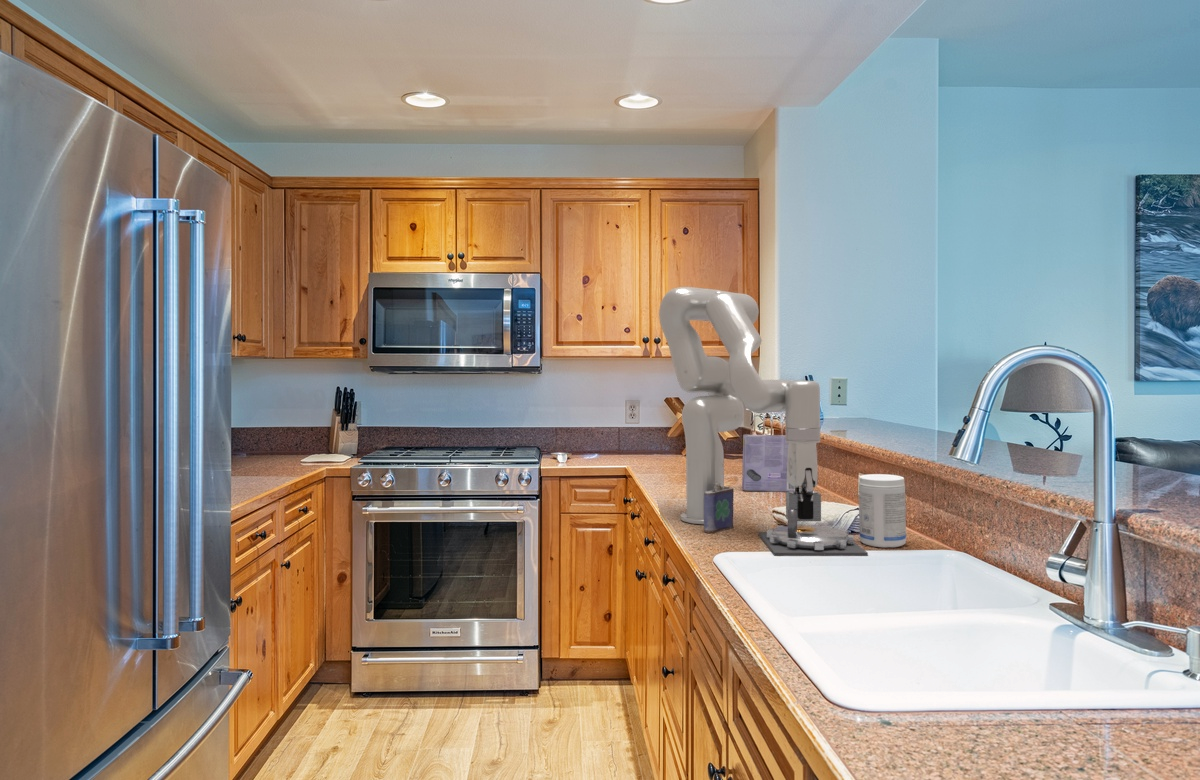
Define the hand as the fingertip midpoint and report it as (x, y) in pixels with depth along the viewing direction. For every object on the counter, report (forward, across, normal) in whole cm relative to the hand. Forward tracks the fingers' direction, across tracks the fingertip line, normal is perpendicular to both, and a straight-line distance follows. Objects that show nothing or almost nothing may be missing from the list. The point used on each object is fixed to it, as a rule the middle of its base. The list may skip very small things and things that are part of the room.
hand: (803, 516), depth 165 cm
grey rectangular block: (+1, 0, 0) cm, 1 cm away
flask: (+5, -11, -18) cm, 21 cm away
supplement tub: (+6, +3, +16) cm, 17 cm away
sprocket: (+4, +4, 0) cm, 6 cm away
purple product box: (+5, -66, +6) cm, 66 cm away
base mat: (+5, +4, 0) cm, 7 cm away
